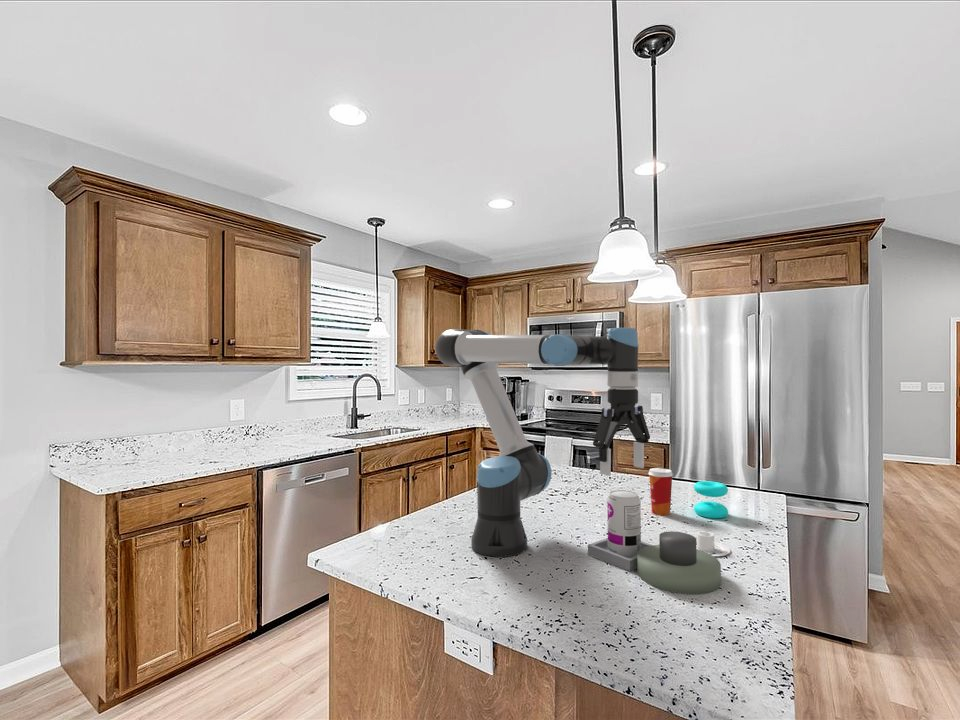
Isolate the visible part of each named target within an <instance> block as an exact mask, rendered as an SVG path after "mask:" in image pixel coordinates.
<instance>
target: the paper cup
mask: <svg viewBox="0 0 960 720" xmlns="http://www.w3.org/2000/svg"><path fill="white" fill-rule="evenodd" d="M647 475H649V490H650V503H651V504H650V505H651V513H652V514H653V515H656V516H663V515H665V516H669V515H671V506H672V505H671V503H672V486H673V485H672V484H673V482H672V481H673V476H674V473H673V472H672V470H671V469H668V468H661V467H654V468H650V469H649V472H648V473H647Z"/></svg>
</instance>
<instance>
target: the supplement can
mask: <svg viewBox="0 0 960 720" xmlns="http://www.w3.org/2000/svg"><path fill="white" fill-rule="evenodd" d="M639 496H640V495H639V494H638V493H637V492H635V491H632V490H626V489H625V490H624V489H621V490H620V489H616V490H611V491H610V492H609V495H608V496H607V503H606V504H607V509H606V510H607V538H608V549H609V551H611V552H613V553H616V554H619V555H621V556H624V557H634V556H636V555H637V553H638V551H639V550H641V541H642V540H641V539H642V530H641V528H642V523H641V520H642V519H641V516H642V515H641V513H642V512H641V509H642V508H641V503H642V502H641V501H642V500H641V499H640V497H639Z"/></svg>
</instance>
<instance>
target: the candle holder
mask: <svg viewBox="0 0 960 720" xmlns="http://www.w3.org/2000/svg"><path fill="white" fill-rule="evenodd" d="M696 536H697V537H696V549H698V550H701V551H704V552H706V553H709V552H714V551H715V547H718V548H720V549H721V550H722V552H721V553H718V554H717V553H716V554H715V553H714V554H711V555H712V556H714V557H723V556H727V555H729V554H730V553H731V548H730V547H728V546H727V545H725V544H723V543H721V542H718V541H715V534H714V533H713V532H709V531H703V530H702V531H698V532H697V533H696Z"/></svg>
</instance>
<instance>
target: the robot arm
mask: <svg viewBox="0 0 960 720" xmlns="http://www.w3.org/2000/svg"><path fill="white" fill-rule="evenodd" d="M638 334H639V333H638V331H637V329H636V328H633V327H612V328H609V329H608V330H607V334H606V335H602V336H583V335H569V334H563V333H562V334H561V333H557V334H492V333H489V332H487V331H485V330H480V329H463V328H461V329H460V328H451V329H447V330H445V331H443V332H442V333H441V334H440V335H439V336H438V337H437V340H436V341H435V355H436V357H437V358H438V360H439V361H440V362H441V363H442V364H444V365H445V366H447V367H450V368H460V369H461V371H462V374H463V376H464V378H465V379H468V380H470V381H471V383H472V386H473V389H474V391H475V394H476V396H477V398H478V401H479V403H480V406H481V409H482V410H483V413H484V416H485V418H486V421H487V423H488V425H489V428H490V430H491V433H492V435H493V438H494V440H495V443H496V444H497V445H496V446H497V448H498V450H499V455H498V456H492V457H488V458H486V459H484V460H481V462H480V463H479V464H478V466H477V473H476V483H477V486H476V488H477V489H476V491H477V492H476V493H477V520H476V523H475V526H474V530H473V534H472V535H471V539H470V540H471V549H472V550H473V551H474V552H476V553H477V554H481V555H484V556H489V557H494V558H495V557H501V558H502V557H511V556H516V555H519V554H521V553H523V552H525V551H526V550H527V548H528V537H527V534H526V530H525V528H524V525H523V522H522V519H521V502H522V501H524V500H526V499H528V498H532V497H535V496H536V495H539V494H540V493H542V492H543V491H544V490H545V489H547V488H548V487H549V485H550V483H551V480H552V467H551V463H550V462H549V460H548V459H547V457H546V456H545V455H542V454H541V453H539V452H538V451H537V449H536V447H535V445H534V443H531V442H529V441H528V440H527V439H526V436H525V434H524V431H523V429H522V426H521V424H520V421H519V420H518V417H517V415H516V413H515V410H514V408H513V406H512V403H511V401H510V398H509V396H508V394H507V391H506V389H505V386H504V384H503V381H502V379H501V377H500V375H499V373H498V367H499V364H502V363H503V364H527V365H528V364H529V365H530V364H531V365H548V366H549V365H550V366H551V365H553V366H557V367H559V366H561V367H564V366H582V365H584V366H586V365H592V366H593V365H603V366H605V365H606V366H607V381H606V382H607V383H606V384H607V387H609V388H608V389H607V403H609V404H610V408H607V407H602V409H601V416H600V420H599V423H598V426H597V429H596V433H595V434H594V439H593V441H592V445H593V446H594V447H595V448H598V452H599V454H598V456H599V457H598V460H599V473H600V474H601V475H605V476H609V477H610V476H611V475H612V471H611V469H612V466H611V465H612V448H609V447H610V445H611V443H612V441H613V439H614V437H615V435H616V433H617V431H618V430H619V428H621V426H625V425H626V426H627V428H628V430H630V433H631V434H632V436H633V438H634V440H635V441H633V467H635V468H641V469H644V468H645V444H648V443H649V442H650V439H651V434H650V431H649V428H648V426H647V422H646V418H645V416H644V408H643V405H637V404H638V403H639V389H636V388H638V385H639V379H638V378H639V347H640V346H639V339H638V338H639V337H638Z"/></svg>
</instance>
